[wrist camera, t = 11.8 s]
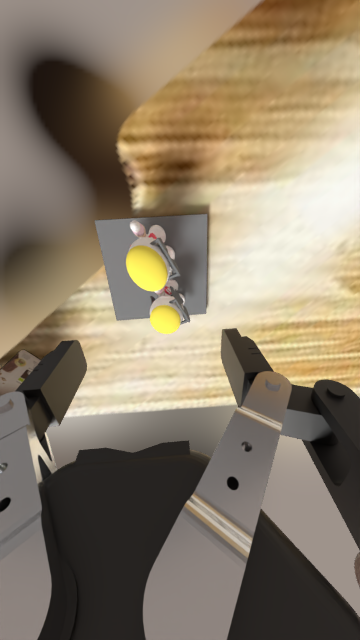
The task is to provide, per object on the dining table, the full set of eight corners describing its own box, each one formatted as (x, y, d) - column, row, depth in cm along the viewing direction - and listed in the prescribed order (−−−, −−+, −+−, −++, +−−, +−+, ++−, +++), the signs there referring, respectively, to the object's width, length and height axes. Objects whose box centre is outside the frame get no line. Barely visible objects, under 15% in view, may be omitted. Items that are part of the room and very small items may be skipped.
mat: (205, 213, 23) (207, 214, 22) (204, 310, 29) (206, 313, 28) (97, 220, 23) (94, 220, 22) (118, 317, 28) (116, 320, 27)
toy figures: (189, 310, 27) (199, 346, 20) (158, 318, 28) (155, 357, 20) (164, 211, 22) (164, 211, 14) (124, 222, 22) (105, 228, 15)
